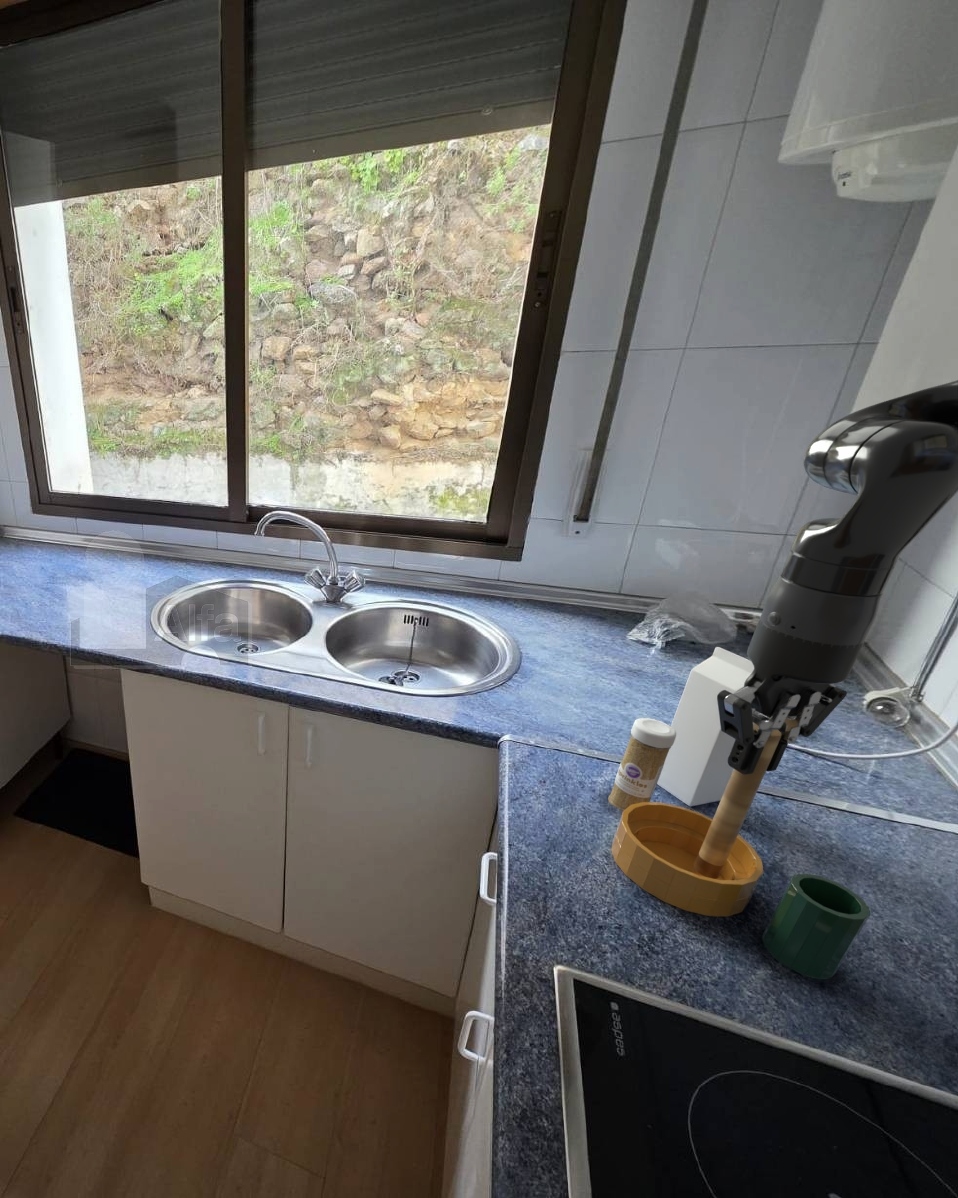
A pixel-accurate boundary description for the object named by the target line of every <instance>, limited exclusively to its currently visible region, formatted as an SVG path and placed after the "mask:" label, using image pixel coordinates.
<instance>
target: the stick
mask: <svg viewBox="0 0 958 1198" xmlns="http://www.w3.org/2000/svg"><path fill="white" fill-rule="evenodd" d="M753 729H754V733H757V731H758V729H759V726H758V725H757V724H753ZM781 736H782V734H781V732H780V731H779V730H773V731H772V733H771V735H770V736H769V738H768V740H767V742H766V744H765V745H764V746H763V747H764V749H763V751H762V753H761V756H760V758H759V760H758V763H757V765H756V767H755V770H754V772H753V773H752V774H746V775H744V774H742V773H740V772H738V771H737V770H735V769H734V770H733V772H732V775H731V777H730V779H729V782H728V784H727V787H726V789H725V791H724V794H723V796H722V799H721V800H720V801H719V804H718V806H717V808H716V811H715V813H714V816H713V818H712V819H713V820H712V823H711V825H710V827H709V830H708V832H707V835H706V837H705V839H704V842H703V844H702V847H701V849H700V851H699V854H698V856H697V859H696V861H695V863H694V868H695V870H696V871H697V872H698V873H700V874H701V875H703V876H705V877H709V878H713V879H717V878H719V877H720V874H721V872H722V870H723V867H724V865H725V863H726V861H727V858H728V856H729V854H730V852H731V849H732V847H733V845H734V843H735V840H736V838H737V836H738V834H739V833H740V831H741V830H742V827H743V825H744V822H745V820H746V818H747V815H748V813H749V810H750V809H751V806H752V804H753V802H754V799H755V797H756V795H757V793H758V791H759V788H760V786H761V784H762V781H763V779H764V777H765V775H766V772H767V771H766V770H767V768H768V766H769V763H770V761H771V759H772V756H773V754H774V752H775V750H776V747H777V745H778V743H779V741H780V738H781ZM739 835H740V834H739Z"/></svg>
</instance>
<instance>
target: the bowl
mask: <svg viewBox="0 0 958 1198" xmlns="http://www.w3.org/2000/svg"><path fill="white" fill-rule="evenodd" d="M712 820H713V818H711V817H709V816H707V815H705V814H704V813H701V812H698V811H695V810H692V809H689V808H686V807H683V806H680V805H676V804H671V803H665V802H660V801H650V802H641V803H637V804H633V805H630V806H629V807H628V808H627V809H625V810H624V811H622V813H621V816H620V818H619V821H618V824H617V827H616V830H615V833H614V836H613V838H612V843H611V849H610V851H611V854H612V857H613V859H614V862H615V864H616V865H617V866H618V867H619V869H620V870H621V871H622V873H623V874H624V875H625V876H626V877H627V878H628V879H630V880H631V881H632V882H634V884H636V885H637V886H638V887H639V888H641V889H642V890H643V891H645V892H646V893H648V894H650V895H651V896H654V898H657V899H658V900H660V901H662V902H664V903H666V904H668V905H671V906H674V907H676V908H679V909H681V910H683V911H686V912H690V913H695V914H698V915H702V916H707V917H723V918H725V917H727V918H728V917H730V916H733V915H737V914H740V913H742V912H743V911H744V910H745V908H747V906H748V905H749V902H750V901H751V899H752V897H753V894H754V893H755V890H756V888H757V886H758V884H759V882H760V880H761V878H762V876H763V874H764V867H763V860H762V858H761V857H760V856H759V854H758V853H757V851H756V850H755V847H753V846H752V845H751V844H750V843H749V842H748V841H747V840H745V838H743V836H741V834H738V836H737V838H736V840H735V843H734V845H733V847H732V849H731V852H730V854H729V856H728V858H727V861H726V863H725V865H724V867H723V870H722V872H721V874H720V877H719V878H717V879H713V878H709V877H705V876H703V875H701V874H700V873H698V872H697V871H696V870H695V868H694V863H695V861H696V859H697V856H698V854H699V851H700V849H701V847H702V844H703V842H704V839H705V837H706V835H707V832H708V830H709V827H710V825H711V823H712Z"/></svg>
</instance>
